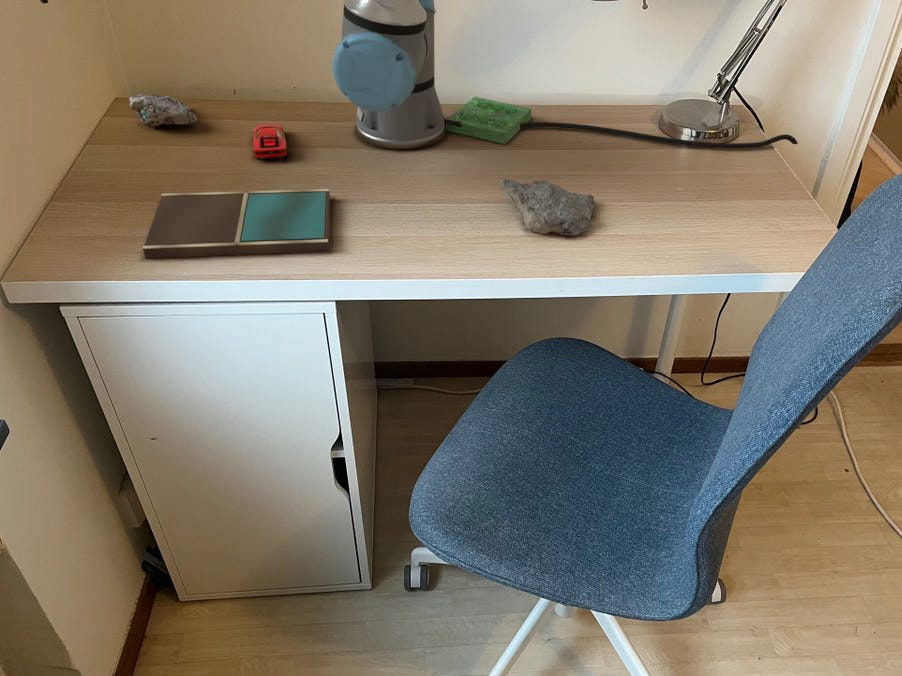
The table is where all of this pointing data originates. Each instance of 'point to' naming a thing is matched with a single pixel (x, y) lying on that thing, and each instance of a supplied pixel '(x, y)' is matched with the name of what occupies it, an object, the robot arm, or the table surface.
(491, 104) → the marbled green block
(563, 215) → the rock
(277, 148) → the toy car
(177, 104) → the mineral specimen
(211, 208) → the board
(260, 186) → the table surface
